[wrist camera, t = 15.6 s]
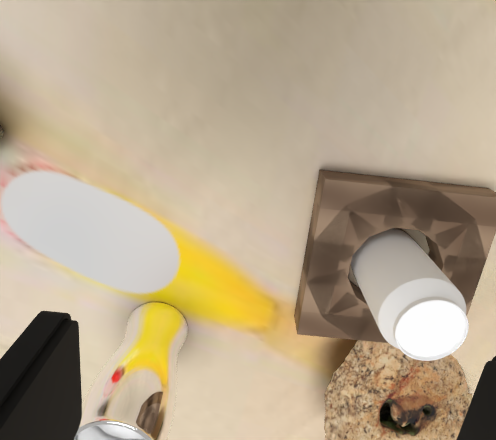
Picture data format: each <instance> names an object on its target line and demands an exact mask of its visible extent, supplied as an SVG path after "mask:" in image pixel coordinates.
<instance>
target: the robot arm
mask: <svg viewBox="0 0 496 440" xmlns="http://www.w3.org/2000/svg"><path fill="white" fill-rule="evenodd" d="M81 418H82V399H81V375H80V351H79V327H78V322H77V321H73V320H71V317H70V314H68V313H60V312H50V311H41V312H40V313H39V314H38V315H37V316H36V317H35V318H34V320H33V321H32V322H31V323H30V324H29V326H28V327H27V328H26V329H25V330H24V332H23V333H22V334H21V335H20V336H19V338H18V339H17V340H16V341H15V342H14V344H13V345H12V346H11V347H10V348H9V350H8V351H7V352H6V353H5V354H4V356H3V357H2V358H1V359H0V440H74V438H75V436H76V434H77V431H78V429H79V426H80V423H81ZM457 440H496V356H495V357H494V358H493V359H492V361H488V362H487V363H486V364H485V366H484V369H483V372H482V374H481V377H480V380H479V382H478V385H477V387H476V390H475V393H474V395H473V398H472V400H471V403H470V406H469V408H468V411H467V414H466V416H465V419H464V421H463V424H462V427H461V429H460V432H459V434H458V437H457Z"/></svg>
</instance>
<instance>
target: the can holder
mask: <svg viewBox="0 0 496 440" xmlns="http://www.w3.org/2000/svg"><path fill="white" fill-rule="evenodd" d="M391 228H403V229H413V230H419V231H421V232H422V233H423V234H425V236H426V239H427V242H428V245H429V249H430V252H429V255H428V256H429V257H430V258H431V260H432V261H433V262H434V263H435V264H436V265H437V266H438V267H439V269H440V270H441V271H442V272H443V273H444V274H445V275H446V276H447V278H448V279H449V280H450V281H451V282H452V283H453V284H454V285H455V287H456V288H457V289H458V290H459V291H460V293H461V294H462V296H463V298H464V300H465V304H466V316H467V314H468V311H469V308H470V305H471V302H472V299H473V296H474V293H475V291H476V288H477V285H478V282H479V279H480V276H481V273H482V270H483V267H484V265H485V262H486V259H487V256H488V253H489V250H490V247H491V244H492V241H493V238H494V236H495V233H496V192H494V191H492V190H490V189H488V188H481V187H472V186H463V185H454V184H444V183H435V182H426V181H417V180H408V179H399V178H389V177H380V176H371V175H362V174H353V173H343V172H334V171H325V170H320V171H319V177H318V182H317V188H316V194H315V200H314V205H313V211H312V217H311V223H310V228H309V234H308V240H307V246H306V252H305V257H304V263H303V269H302V275H301V280H300V286H299V292H298V298H297V303H296V309H295V315H294V317H295V323H296V329H297V334H300V335H311V336H321V337H331V338H342V339H352V340H362V341H372V342H383V343H388V342H387V341H386V340H385V339H384V337H383V336H382V334H381V332H380V330H379V328H378V326H377V324H376V321H375V319H374V317H373V315H372V313H371V311H370V309H369V306H368V304H367V302H366V300H365V298H364V296H363V294H362V291H361V289H360V288H359V287H357V286H356V285H355V284H353V283H352V282H350V281H349V279H348V274H349V269H350V264H351V260H352V255H353V254H354V253H355V252H356V251H357V250H358V249H359V248H360V247H361V245H362V244H363V243H364V242H365V241H366V240H367V239H368V238H369V237H370V236H373V235H376V234H378V233H381V232H383V231H386V230H389V229H391Z"/></svg>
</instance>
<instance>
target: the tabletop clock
mask: <svg viewBox="0 0 496 440" xmlns="http://www.w3.org/2000/svg"><path fill="white" fill-rule="evenodd" d="M3 133H4V130H3V128H2V126H1V125H0V139H1V138H2V137H3Z"/></svg>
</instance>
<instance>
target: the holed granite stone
mask: <svg viewBox="0 0 496 440" xmlns="http://www.w3.org/2000/svg"><path fill="white" fill-rule="evenodd" d="M471 400H472V394H469V393H468V387H467V382H466V380H465V374H464V372H463V371H462V369H461V367H460V365H459V364H458V361H457V360H456V359H455V358H454V357H453V356H452V355H451V354H450V355H448V356H446V357H443V358H441V359H437V360H431V361H422V360H416V359H413V358H411V357H409V356H407V355H405V354H404V353H403V352H402V351H401V350H400V349H398V348H396V347H394V346H392V345H391V344H389V343H383V342H372V341H362V340H358V341H357V342H356V344H355V346H354V347H353V348H352V349H351V351H350V353H349V355H348V356H347V357H346V358H345V361H344V363H342V364H341V366H340V367H339V368H338V369H337V370H336V371H335V372H334V373H333V377H332V379H331V381H330V383H329V385H328V387H327V390H326V392H325V409H326V415H325V426H324V430H325V433H326V435H325V440H457V437H458V434H459V432H460V429H461V427H462V424H463V421H464V419H465V416H466V414H467V411H468V408H469V406H470V403H471ZM385 402H386V403H388V404H385Z"/></svg>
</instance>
